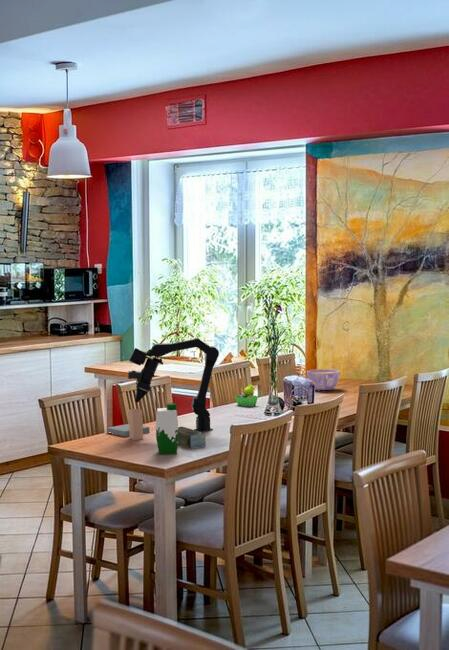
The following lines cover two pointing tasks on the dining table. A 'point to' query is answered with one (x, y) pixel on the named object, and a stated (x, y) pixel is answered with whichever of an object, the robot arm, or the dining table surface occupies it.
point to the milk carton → (167, 429)
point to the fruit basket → (247, 397)
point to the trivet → (124, 430)
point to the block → (135, 424)
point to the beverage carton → (190, 438)
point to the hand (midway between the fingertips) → (136, 400)
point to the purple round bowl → (324, 378)
